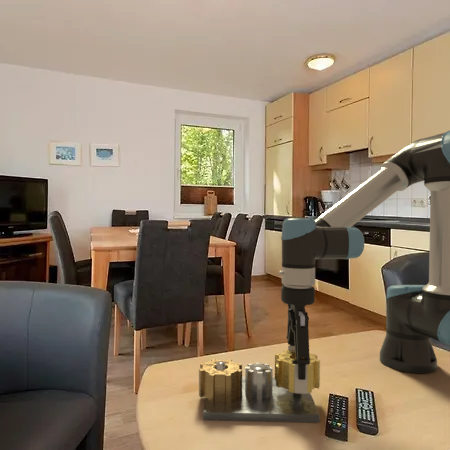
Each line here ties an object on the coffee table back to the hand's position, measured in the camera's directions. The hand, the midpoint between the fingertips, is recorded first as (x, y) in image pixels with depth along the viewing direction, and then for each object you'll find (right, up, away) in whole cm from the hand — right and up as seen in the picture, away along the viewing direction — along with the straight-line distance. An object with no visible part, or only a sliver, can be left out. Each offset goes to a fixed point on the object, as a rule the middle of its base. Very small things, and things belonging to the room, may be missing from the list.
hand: (296, 382), depth 86 cm
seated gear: (-18, -3, +1) cm, 18 cm away
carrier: (-9, -4, 0) cm, 10 cm away
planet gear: (0, 0, 0) cm, 0 cm away
